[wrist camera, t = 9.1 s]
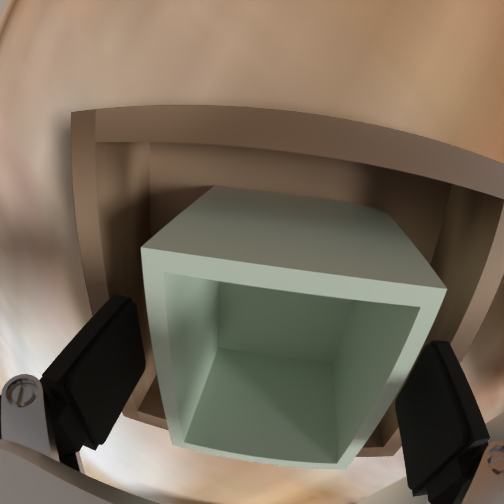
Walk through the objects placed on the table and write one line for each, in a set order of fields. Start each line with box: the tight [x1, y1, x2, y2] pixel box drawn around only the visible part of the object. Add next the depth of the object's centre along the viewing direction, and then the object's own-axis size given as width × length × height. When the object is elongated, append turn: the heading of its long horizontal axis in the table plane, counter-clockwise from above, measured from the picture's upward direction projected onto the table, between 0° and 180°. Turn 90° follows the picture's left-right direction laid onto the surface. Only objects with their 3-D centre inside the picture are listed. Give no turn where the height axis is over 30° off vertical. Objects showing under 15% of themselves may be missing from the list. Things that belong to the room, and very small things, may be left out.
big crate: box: [71, 105, 504, 457], centre depth 12 cm, size 14×14×4 cm
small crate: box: [141, 185, 447, 469], centre depth 10 cm, size 8×6×6 cm
